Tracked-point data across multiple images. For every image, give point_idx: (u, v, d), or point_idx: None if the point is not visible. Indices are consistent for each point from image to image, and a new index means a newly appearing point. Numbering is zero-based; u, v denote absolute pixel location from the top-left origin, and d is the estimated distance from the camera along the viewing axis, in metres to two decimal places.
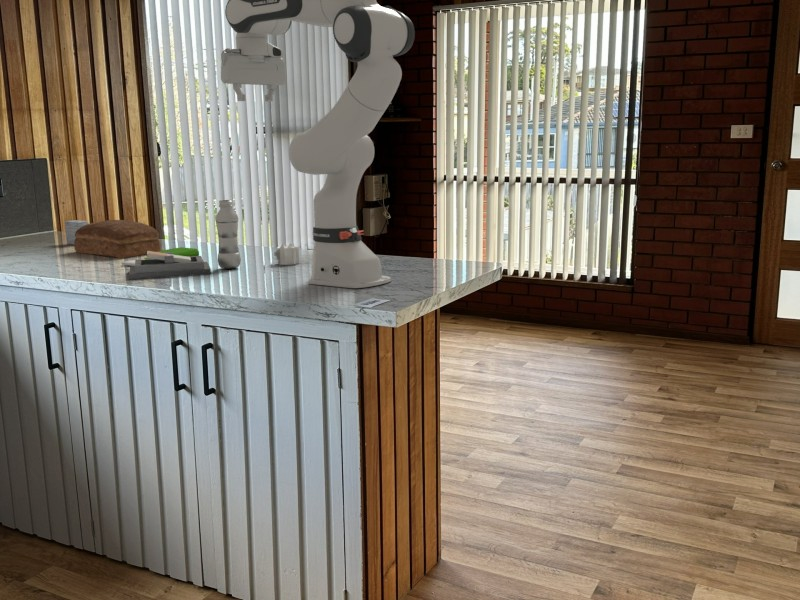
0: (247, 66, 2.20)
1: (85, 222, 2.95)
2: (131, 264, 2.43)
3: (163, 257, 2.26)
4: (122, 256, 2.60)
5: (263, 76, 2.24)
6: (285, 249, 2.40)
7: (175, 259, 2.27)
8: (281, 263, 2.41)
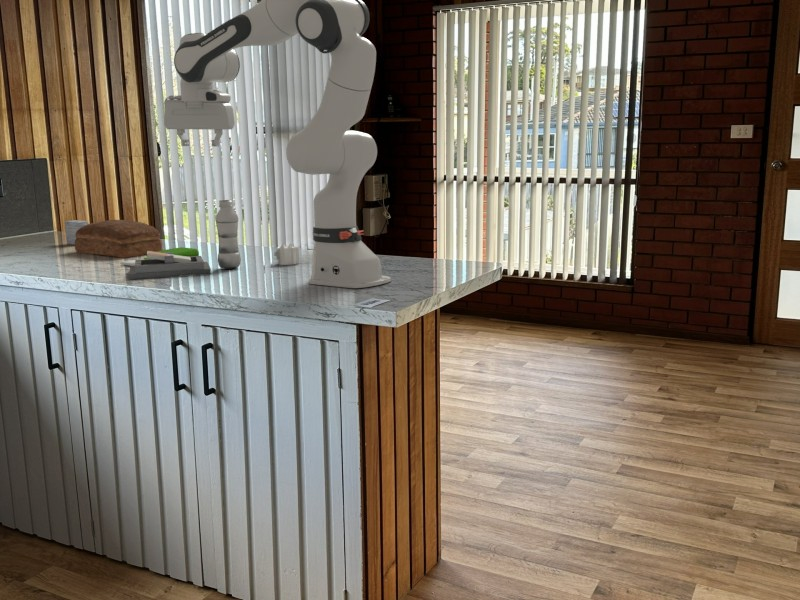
0: (185, 112, 2.22)
1: (85, 222, 2.95)
2: (130, 264, 2.43)
3: (163, 257, 2.26)
4: (124, 256, 2.61)
5: (201, 121, 2.21)
6: (285, 249, 2.40)
7: (175, 259, 2.27)
8: (281, 263, 2.41)
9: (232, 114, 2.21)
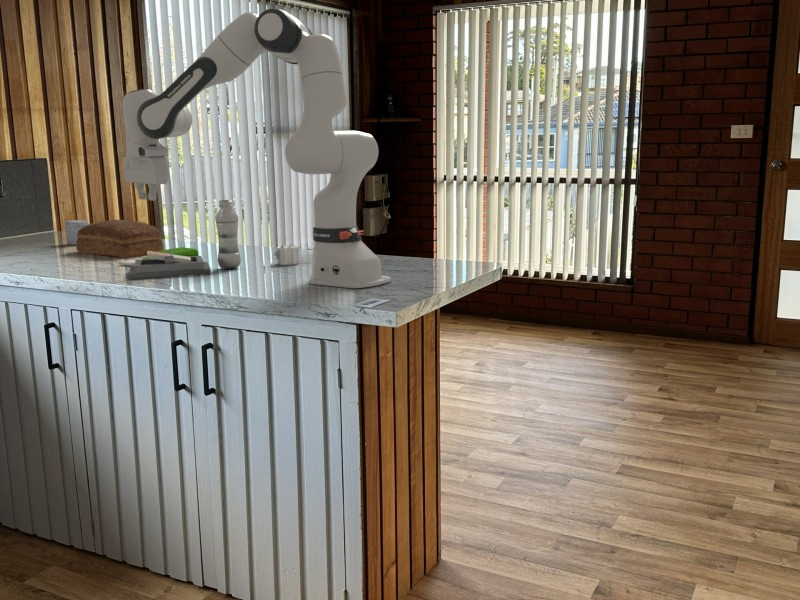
0: (134, 166, 2.24)
1: (85, 222, 2.95)
2: (127, 264, 2.44)
3: (163, 257, 2.26)
4: (125, 256, 2.61)
5: (142, 176, 2.21)
6: (285, 249, 2.40)
7: (175, 259, 2.27)
8: (281, 263, 2.41)
9: (165, 169, 2.17)
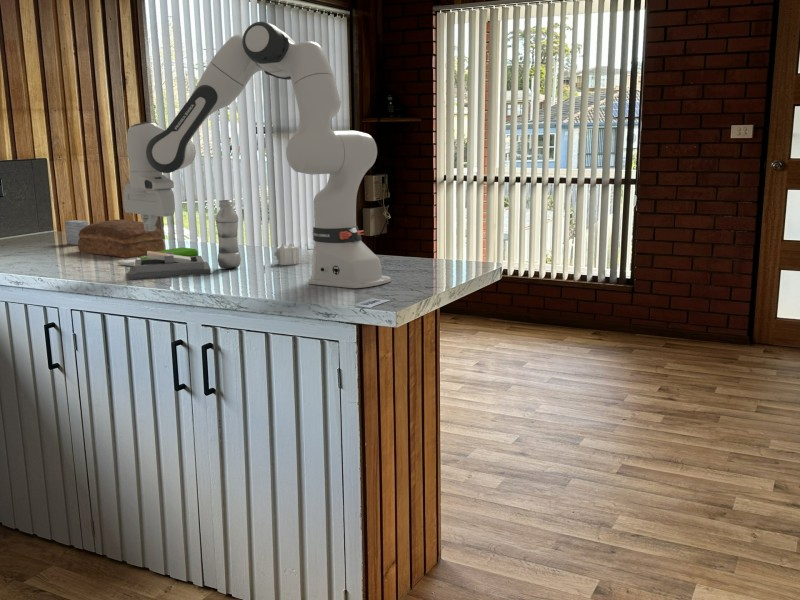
0: (136, 197, 2.26)
1: (85, 222, 2.95)
2: (125, 263, 2.44)
3: (163, 257, 2.26)
4: (126, 256, 2.61)
5: (146, 207, 2.23)
6: (285, 249, 2.40)
7: (175, 259, 2.27)
8: (281, 263, 2.41)
9: (171, 201, 2.20)
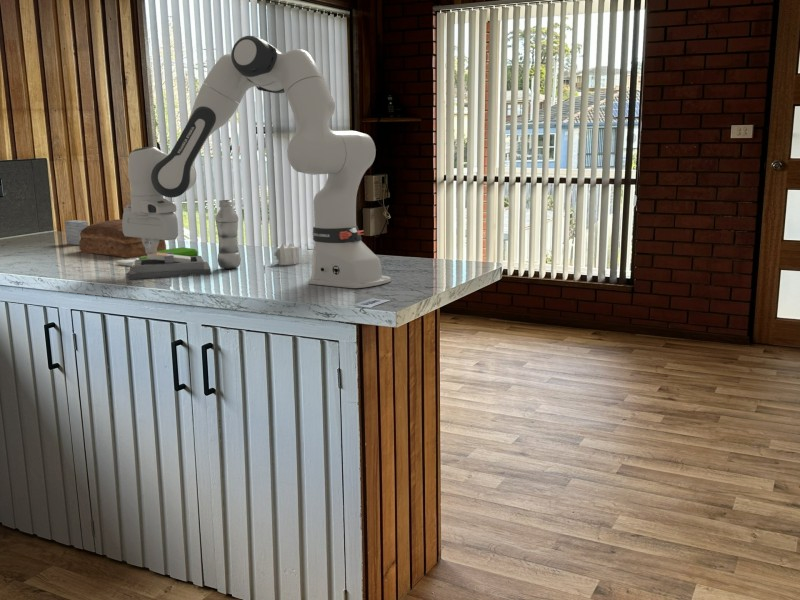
0: (137, 221, 2.27)
1: (85, 222, 2.95)
2: (124, 263, 2.44)
3: (163, 257, 2.26)
4: (127, 256, 2.61)
5: (148, 231, 2.24)
6: (285, 249, 2.40)
7: (175, 259, 2.27)
8: (281, 263, 2.41)
9: (175, 225, 2.22)
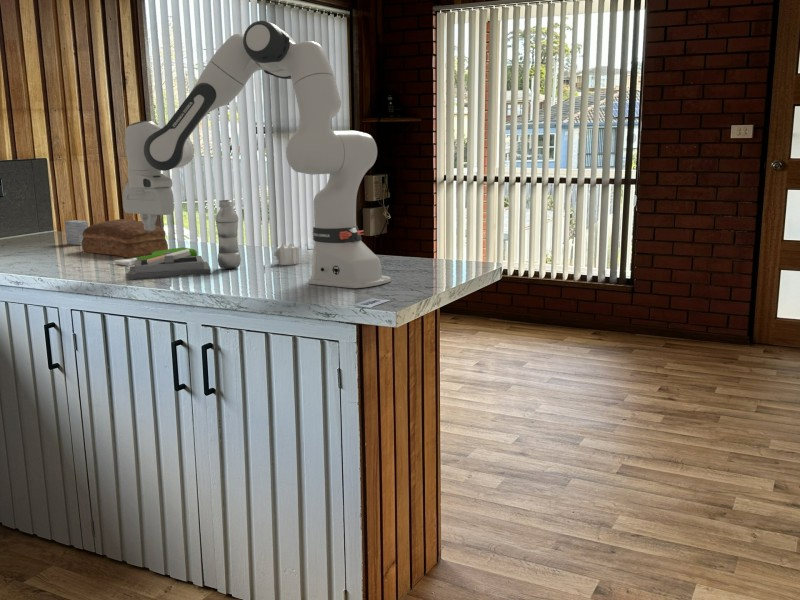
0: (135, 197, 2.25)
1: (85, 222, 2.95)
2: (121, 263, 2.45)
3: (163, 259, 2.26)
4: (129, 255, 2.61)
5: (145, 207, 2.22)
6: (285, 249, 2.40)
7: (175, 256, 2.27)
8: (281, 263, 2.41)
9: (170, 199, 2.19)
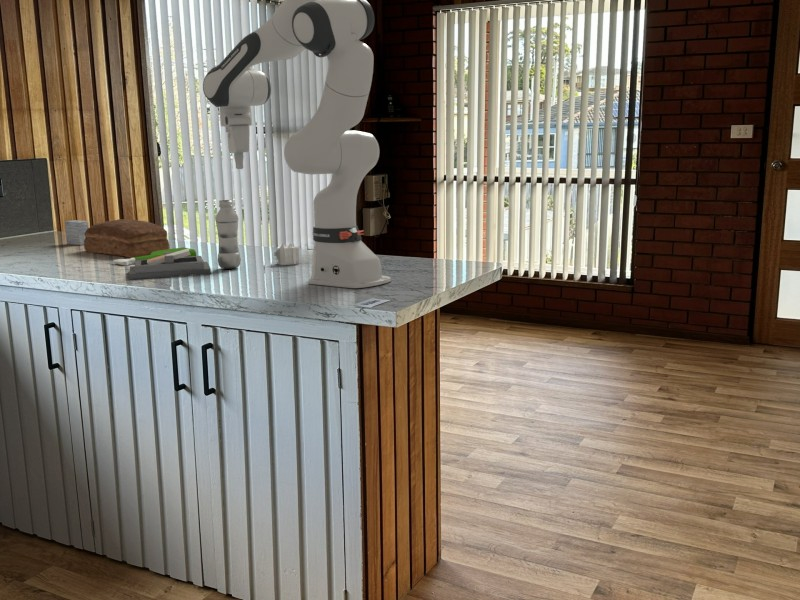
0: (230, 136, 2.31)
1: (85, 222, 2.95)
2: (119, 263, 2.46)
3: (163, 259, 2.26)
4: (131, 255, 2.61)
5: (232, 145, 2.27)
6: (285, 249, 2.40)
7: (175, 256, 2.27)
8: (281, 263, 2.41)
9: (245, 137, 2.20)
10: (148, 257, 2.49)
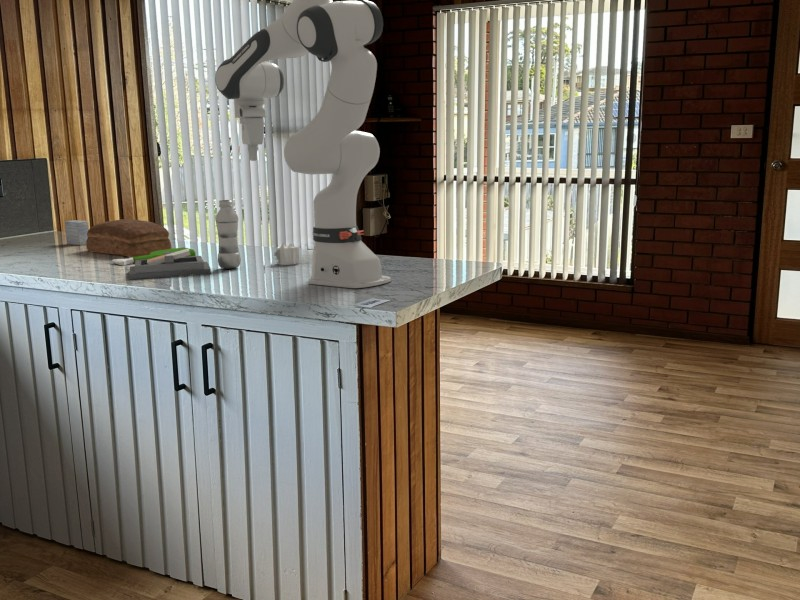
0: (244, 127, 2.32)
1: (85, 222, 2.95)
2: (117, 262, 2.47)
3: (163, 259, 2.26)
4: (132, 255, 2.62)
5: (246, 137, 2.27)
6: (285, 249, 2.40)
7: (175, 256, 2.27)
8: (281, 263, 2.41)
9: (259, 129, 2.20)
10: (146, 257, 2.50)
